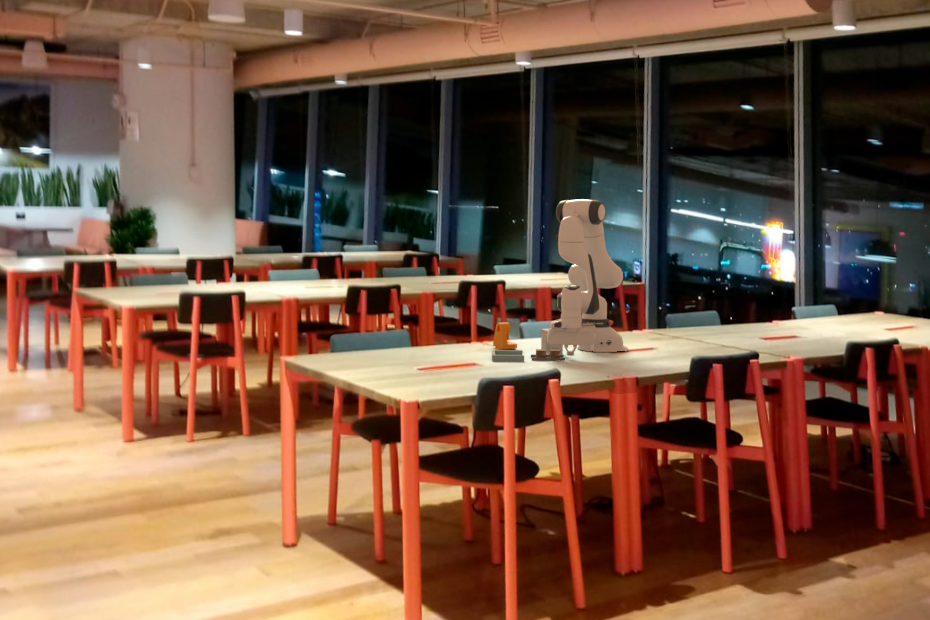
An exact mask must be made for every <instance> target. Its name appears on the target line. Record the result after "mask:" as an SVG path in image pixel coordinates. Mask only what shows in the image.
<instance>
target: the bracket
mask: <svg viewBox="0 0 930 620" xmlns="http://www.w3.org/2000/svg"><path fill="white" fill-rule="evenodd" d="M510 332H511V325H510V323H509V322H508V321H507V322H497V323H496V325H495V330H494V335H493V341H492V346H493V347H495V349H496V350H516V349H517V348H518V344H517V343H515V342H512V341H509V340H508V338H507V337H508V335H509V334H510Z"/></svg>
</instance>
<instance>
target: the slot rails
mask: <svg viewBox="0 0 930 620" xmlns="http://www.w3.org/2000/svg"><path fill="white" fill-rule="evenodd" d="M530 358H531V361H543V362H545V361H550V362H551V361H553V362H555V361H556V360H560V362H561V360H565V361H566V357H565V355H564V354H562V355H560V357H550V355H549V354H546V357H536V354H530Z"/></svg>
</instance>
